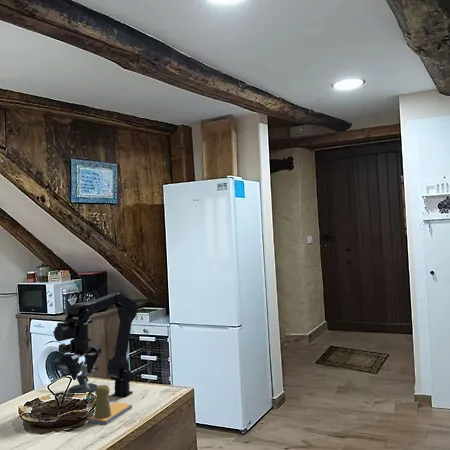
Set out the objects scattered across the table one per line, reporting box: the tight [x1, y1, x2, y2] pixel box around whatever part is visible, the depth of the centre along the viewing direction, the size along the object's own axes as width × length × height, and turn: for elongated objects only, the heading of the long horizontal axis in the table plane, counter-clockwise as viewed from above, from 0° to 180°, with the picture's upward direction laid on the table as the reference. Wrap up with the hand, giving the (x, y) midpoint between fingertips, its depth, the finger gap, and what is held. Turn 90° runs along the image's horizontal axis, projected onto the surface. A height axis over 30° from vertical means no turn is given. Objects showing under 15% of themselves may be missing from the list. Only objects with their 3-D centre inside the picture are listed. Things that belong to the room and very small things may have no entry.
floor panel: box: [87, 402, 133, 426], centre depth 194 cm, size 17×8×1 cm, turn 158°
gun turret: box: [58, 359, 99, 394], centre depth 225 cm, size 13×20×13 cm, turn 71°
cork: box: [94, 384, 111, 419], centre depth 189 cm, size 6×6×11 cm
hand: (81, 376), depth 199 cm, fingers open, 9 cm apart
